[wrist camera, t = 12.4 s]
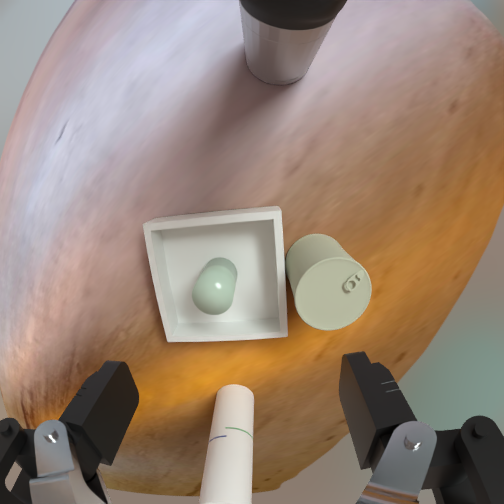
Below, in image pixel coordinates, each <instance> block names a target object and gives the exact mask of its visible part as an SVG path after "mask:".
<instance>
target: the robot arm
mask: <svg viewBox="0 0 504 504" xmlns="http://www.w3.org/2000/svg"><path fill="white" fill-rule="evenodd" d="M346 1H347V0H239V4H240V12H241V20H242V28H243V37H244V46H245V55H246V63H247V65H248V68H249V69H250V71H251V72H252V73H253V74H254V75H255V76H256V77H257V78H258V79H260V80H262V81H264V82H266V83H269V84H274V85H286V84H290V83H293V82H296V81H297V80H299V79H301V78H302V77H303V76H304V75H305V74H306V72H307V71H308V69H309V67H310V65H311V63H312V61H313V59H314V57H315V56H316V54H317V52H318V50H319V48H320V46H321V44H322V42H323V40H324V38H325V36H326V34H327V33H328V31H329V29H330V27H331V25H332V23H333V21H334V19H335V17H336V16H337V14H338V12H339V11H340V10H341V9H342V8H343V6H344V5H345V3H346ZM339 396H340V401H341V404H342V408H343V411H344V414H345V417H346V420H347V424H348V427H349V430H350V434H351V437H352V440H353V444H354V447H355V451H356V454H357V458H358V461H359V465H360V468H361V470H362V469H366V468H370V467H371V469H372V472H373V475H372V477H371V479H370V481H369V482H368V484H367V486H366V488H365V489H364V491H363V493H362V494H361V496H360V498H359V499H358V501H357V503H356V504H419V501H417V498H418V495H419V492H420V490H423V489H432V491H433V494H434V497H435V500H436V504H504V436H503V435H502V433H501V431H500V430H499V428H498V427H497V425H496V423H495V422H494V421H493V420H491V419H490V418H488V417H485V416H474V417H471V418H469V419H468V420H466V422H465V423H464V424H463V426H462V427H461V429H454V430H445V431H435V430H434V429H433V428H432V427H431V426H429V425H427V424H426V423H423V422H419V421H417V419H416V418H415V416H414V414H413V412H412V410H411V408H410V407H409V405H408V403H407V401H406V399H405V397H404V396H403V394H402V392H401V390H399V387H398V385H397V383H396V382H395V380H394V378H393V376H392V374H391V373H390V371H389V370H388V369H387V368H386V367H384V366H383V365H382V364H380V363H379V362H378V363H373V364H371V363H370V361H369V359H368V357H367V355H366V353H365V352H364V351H362V352H356V353H349V354H344V355H343V357H342V364H341V373H340V381H339ZM138 403H139V393H138V390H137V387H136V385H135V382H134V380H133V378H132V375H131V373H130V370H129V368H128V365H127V364H126V363H125V362H120V361H109V360H108V361H106V362H105V363H104V364H103V365H102V367H101V368H100V370H99V371H98V372H97V371H96V372H95V373H94V374H92V375H91V376H90V377H88V378H87V379H86V381H85V382H84V383H83V385H82V386H81V389H79V391H78V392H77V393H76V396H74V398H73V399H72V401H71V402H70V404H69V405H68V406H67V408H66V409H65V411H64V412H63V414H62V415H61V417H60V418H59V420H48V421H45V422H43V423H42V424H40V425H39V426H38V427H37V429H36V430H33V429H23V428H22V427H21V426H20V424H19V423H18V421H17V420H16V419H14V418H5V419H3V420H1V421H0V504H113V503H112V501H111V499H110V496H109V494H108V491H107V489H106V486H105V483H104V481H103V478H102V475H101V472H100V470H99V469H98V466H99V464H100V463H102V464H106V465H110V466H111V465H112V463H113V460H114V458H115V456H116V453H117V451H118V449H119V446H120V444H121V442H122V440H123V437H124V435H125V433H126V430H127V428H128V426H129V424H130V421H131V419H132V417H133V415H134V413H135V410H136V408H137V406H138ZM14 462H16V463H17V464H18V465H19V466H20V467H21V468H22V471H21V472H20V474H19V476H18V478H17V480H16V482H15V484H14V486H13V488H12V490H11V492H10V491H9V490H8V489H7V488H6V486H5V478H6V476H7V475H8V473H9V471H10V469H11V467H12V465H13V464H14Z"/></svg>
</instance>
